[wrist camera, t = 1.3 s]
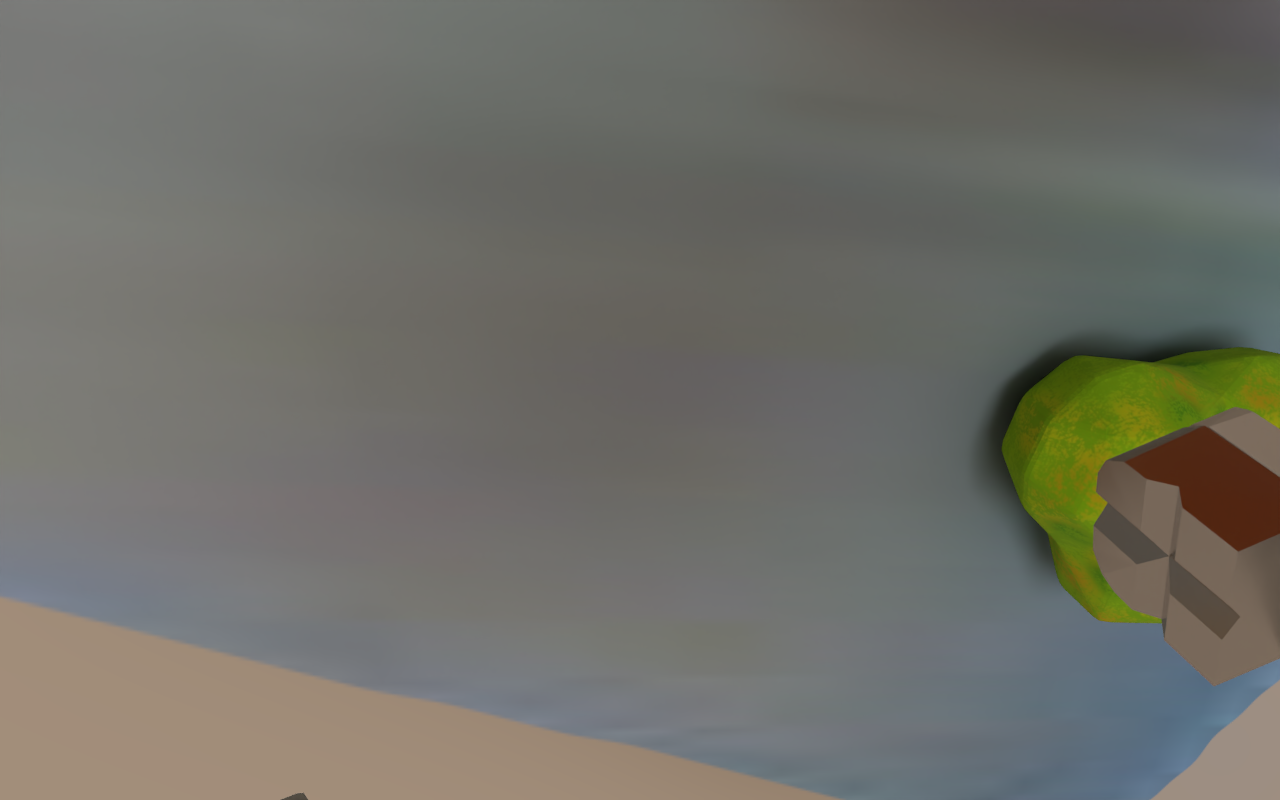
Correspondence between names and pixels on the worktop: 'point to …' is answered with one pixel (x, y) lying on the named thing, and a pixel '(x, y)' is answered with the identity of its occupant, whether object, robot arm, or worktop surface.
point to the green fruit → (1116, 442)
